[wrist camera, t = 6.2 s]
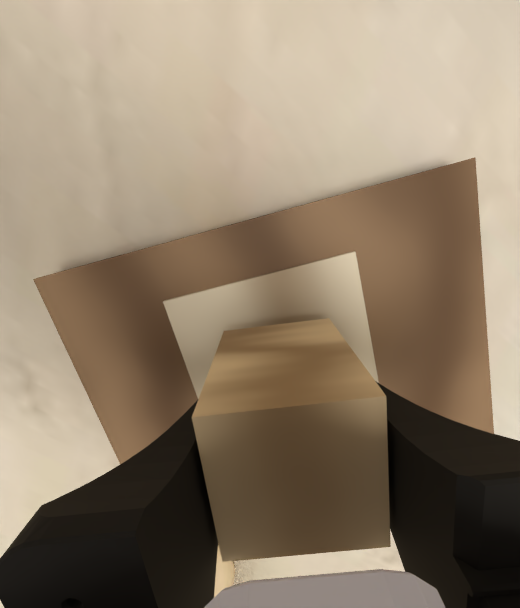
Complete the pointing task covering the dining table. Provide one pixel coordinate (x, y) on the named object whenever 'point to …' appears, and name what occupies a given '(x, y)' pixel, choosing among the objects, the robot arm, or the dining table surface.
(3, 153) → the dining table surface
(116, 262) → the walnut board
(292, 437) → the maple block
